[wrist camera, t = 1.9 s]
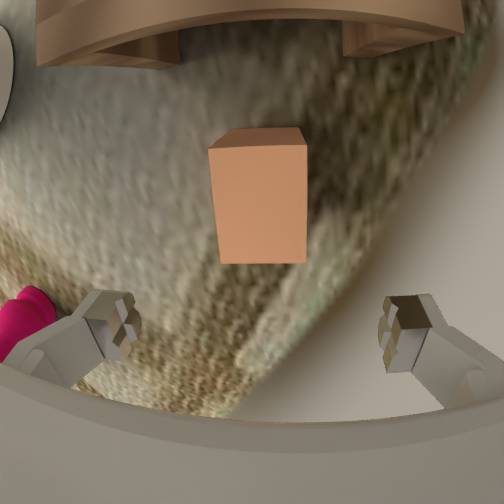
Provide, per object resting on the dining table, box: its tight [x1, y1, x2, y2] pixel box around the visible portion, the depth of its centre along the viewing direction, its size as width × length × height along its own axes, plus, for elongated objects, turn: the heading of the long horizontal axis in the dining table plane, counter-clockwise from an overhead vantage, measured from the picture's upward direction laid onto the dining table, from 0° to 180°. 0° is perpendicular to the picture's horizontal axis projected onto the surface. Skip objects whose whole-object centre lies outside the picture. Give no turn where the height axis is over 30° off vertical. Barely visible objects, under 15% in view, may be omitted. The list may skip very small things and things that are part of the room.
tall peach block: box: [208, 127, 307, 264], centre depth 20 cm, size 5×7×8 cm
